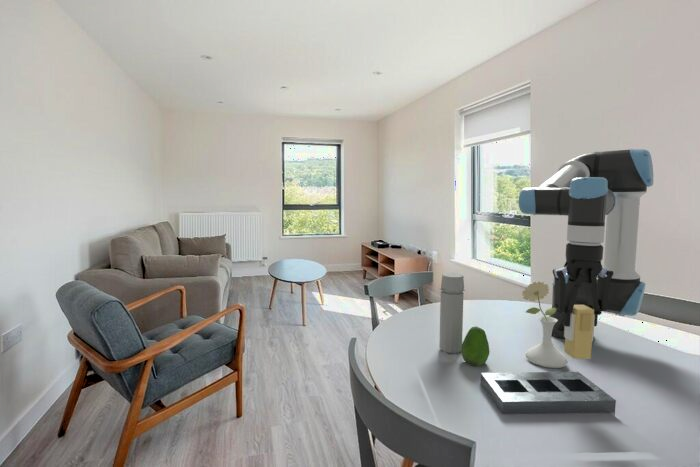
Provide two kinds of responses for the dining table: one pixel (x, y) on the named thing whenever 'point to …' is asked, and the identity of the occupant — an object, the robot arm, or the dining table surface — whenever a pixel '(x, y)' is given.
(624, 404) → the dining table surface
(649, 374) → the dining table surface
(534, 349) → the flower in vase
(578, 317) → the yellow tall block
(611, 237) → the robot arm
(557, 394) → the jack panel
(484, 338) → the avocado
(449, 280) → the water bottle
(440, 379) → the dining table surface
